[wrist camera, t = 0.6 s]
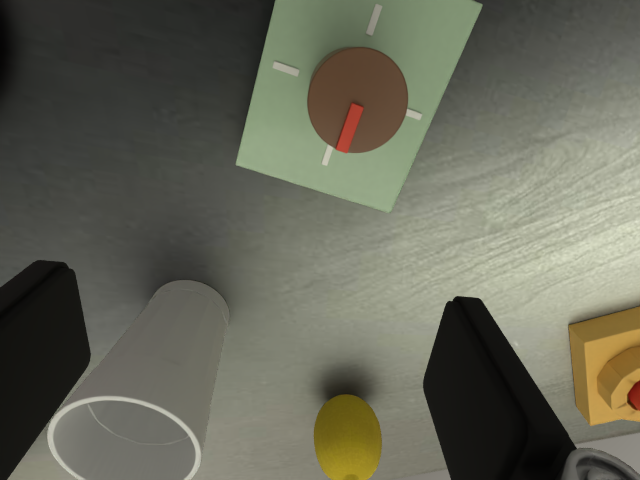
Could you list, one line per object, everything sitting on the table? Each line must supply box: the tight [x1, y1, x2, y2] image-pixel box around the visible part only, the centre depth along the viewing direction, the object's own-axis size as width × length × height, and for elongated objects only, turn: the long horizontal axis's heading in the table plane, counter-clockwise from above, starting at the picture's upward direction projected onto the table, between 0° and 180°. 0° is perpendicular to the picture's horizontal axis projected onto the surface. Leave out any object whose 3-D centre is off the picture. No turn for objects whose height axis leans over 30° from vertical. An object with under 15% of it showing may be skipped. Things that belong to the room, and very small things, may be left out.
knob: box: [307, 47, 408, 153], centre depth 19 cm, size 4×4×5 cm
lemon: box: [314, 394, 382, 480], centre depth 32 cm, size 6×6×8 cm
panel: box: [236, 0, 482, 213], centre depth 23 cm, size 12×10×3 cm
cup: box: [47, 280, 230, 480], centre depth 26 cm, size 8×8×12 cm
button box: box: [569, 306, 640, 426], centre depth 32 cm, size 10×8×4 cm
